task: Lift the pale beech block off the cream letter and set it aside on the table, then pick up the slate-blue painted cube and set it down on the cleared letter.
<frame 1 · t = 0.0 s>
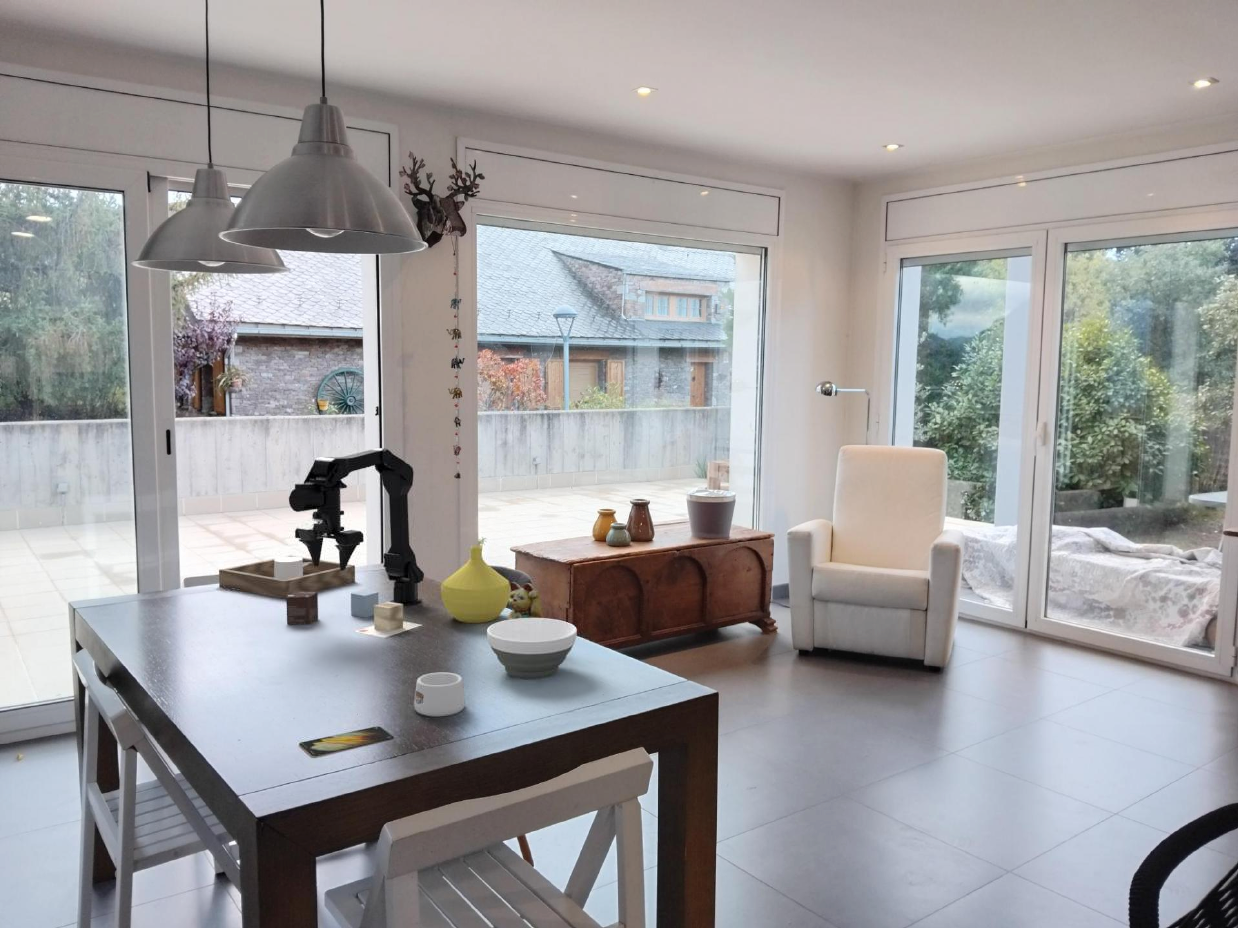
hand: (329, 568, 242), 15 cm above the table, fingers open, 9 cm apart
mug: (436, 708, 186), on the table
bowl: (531, 672, 208), on the table
vase: (475, 619, 252), on the table
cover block: (388, 628, 241), resting on letter
cube: (364, 614, 254), on the table
box: (302, 622, 246), on the table
smartphone: (347, 744, 168), on the table
wooden tray: (288, 583, 288), on the table
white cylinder: (288, 585, 288), resting in wooden tray
decorative figurine: (526, 643, 231), on the table
letter: (388, 628, 241), on the table
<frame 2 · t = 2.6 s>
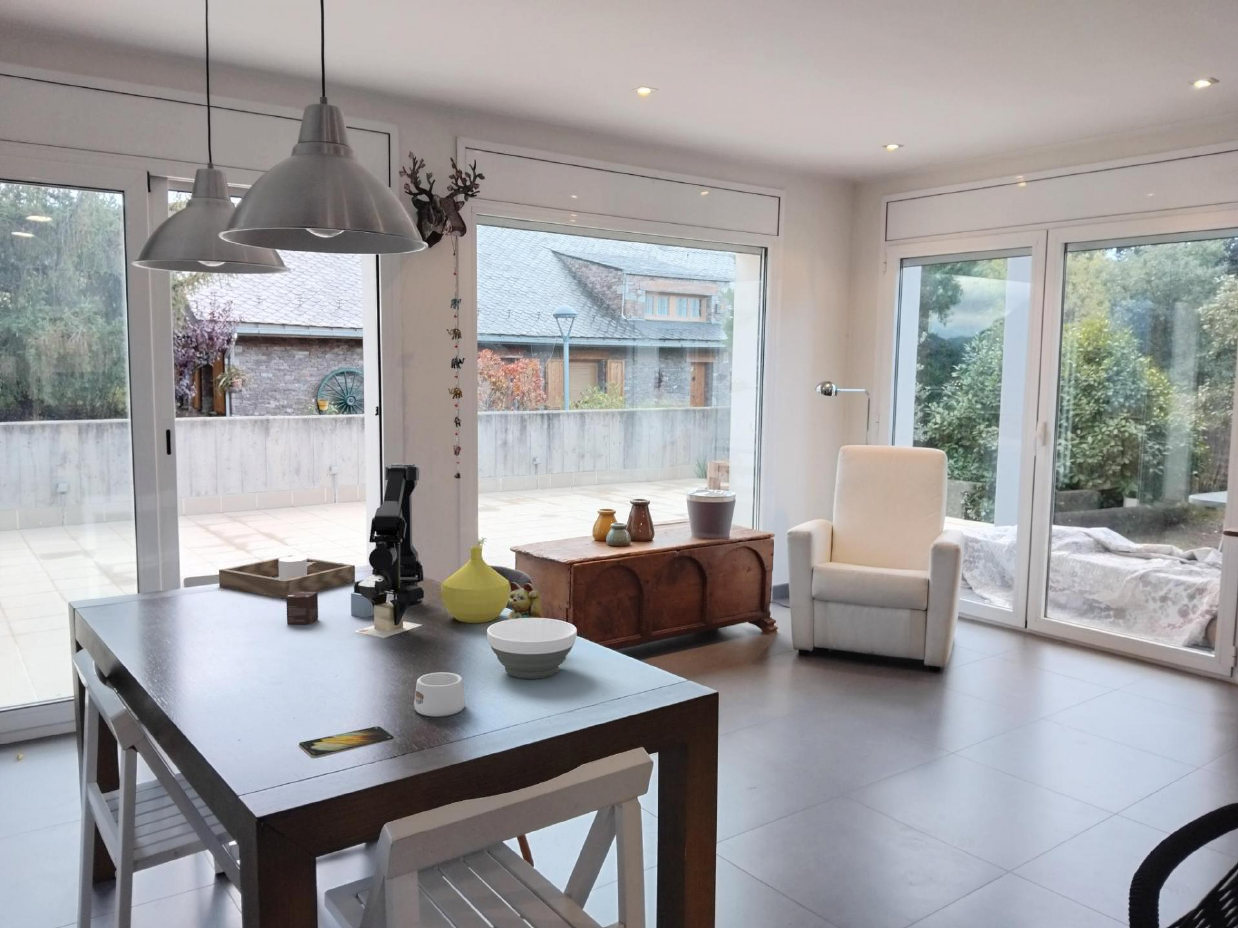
hand: (388, 623, 241), 1 cm above the table, fingers closed on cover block, 5 cm apart
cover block: (388, 628, 241), resting on letter, touching gripper
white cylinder: (293, 585, 289), resting in wooden tray
everything else where it was.
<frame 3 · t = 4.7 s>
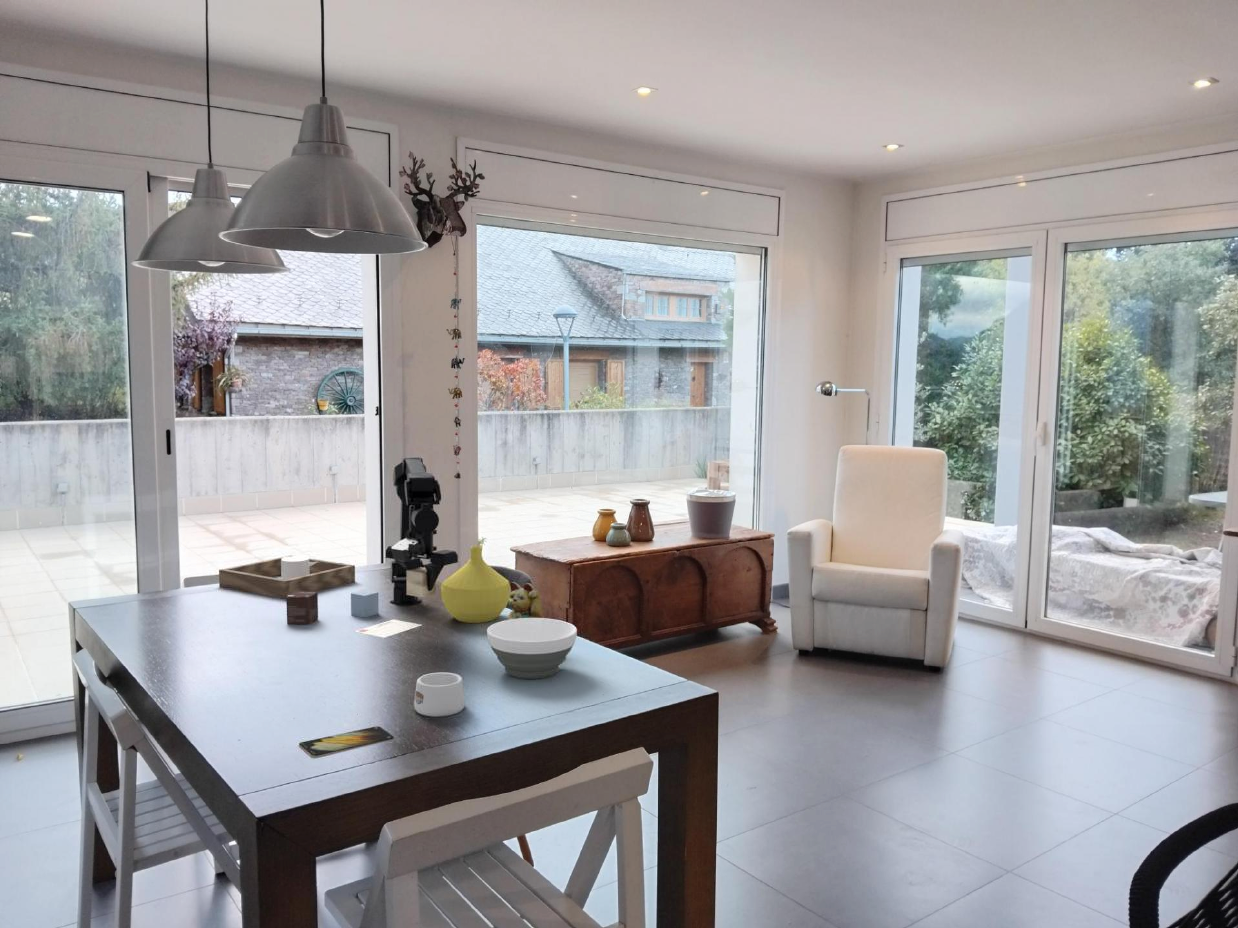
hand: (421, 589, 234), 12 cm above the table, fingers closed on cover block, 5 cm apart
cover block: (421, 593, 234), point 10 cm above the table, touching gripper
when the fingers open (3 cm above the table, at t = 6.7 s): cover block drops 2 cm, on the table.
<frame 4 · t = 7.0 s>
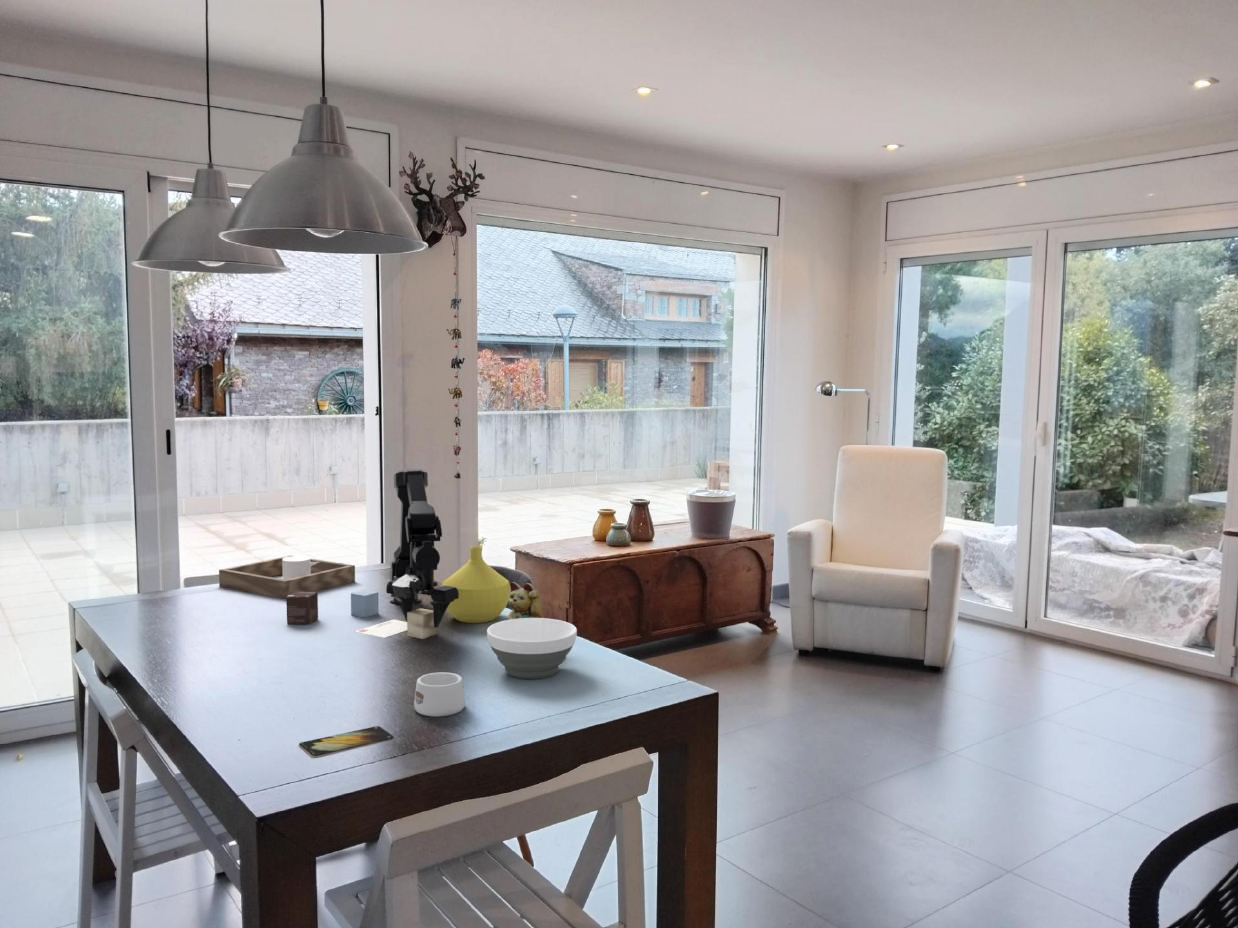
hand: (422, 624, 235), 3 cm above the table, fingers open, 9 cm apart
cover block: (421, 635, 235), on the table
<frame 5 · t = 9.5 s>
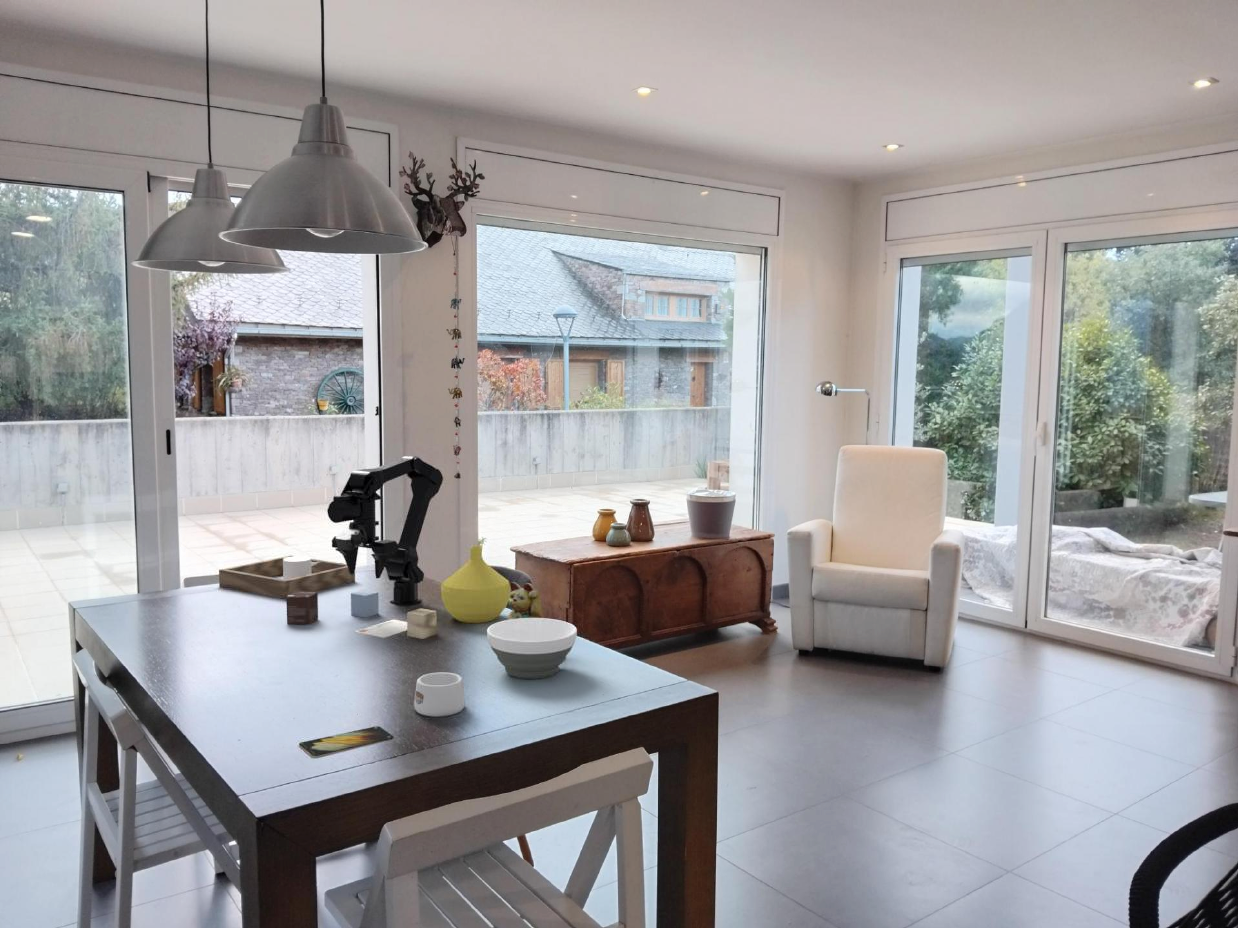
hand: (364, 576, 253), 10 cm above the table, fingers open, 9 cm apart
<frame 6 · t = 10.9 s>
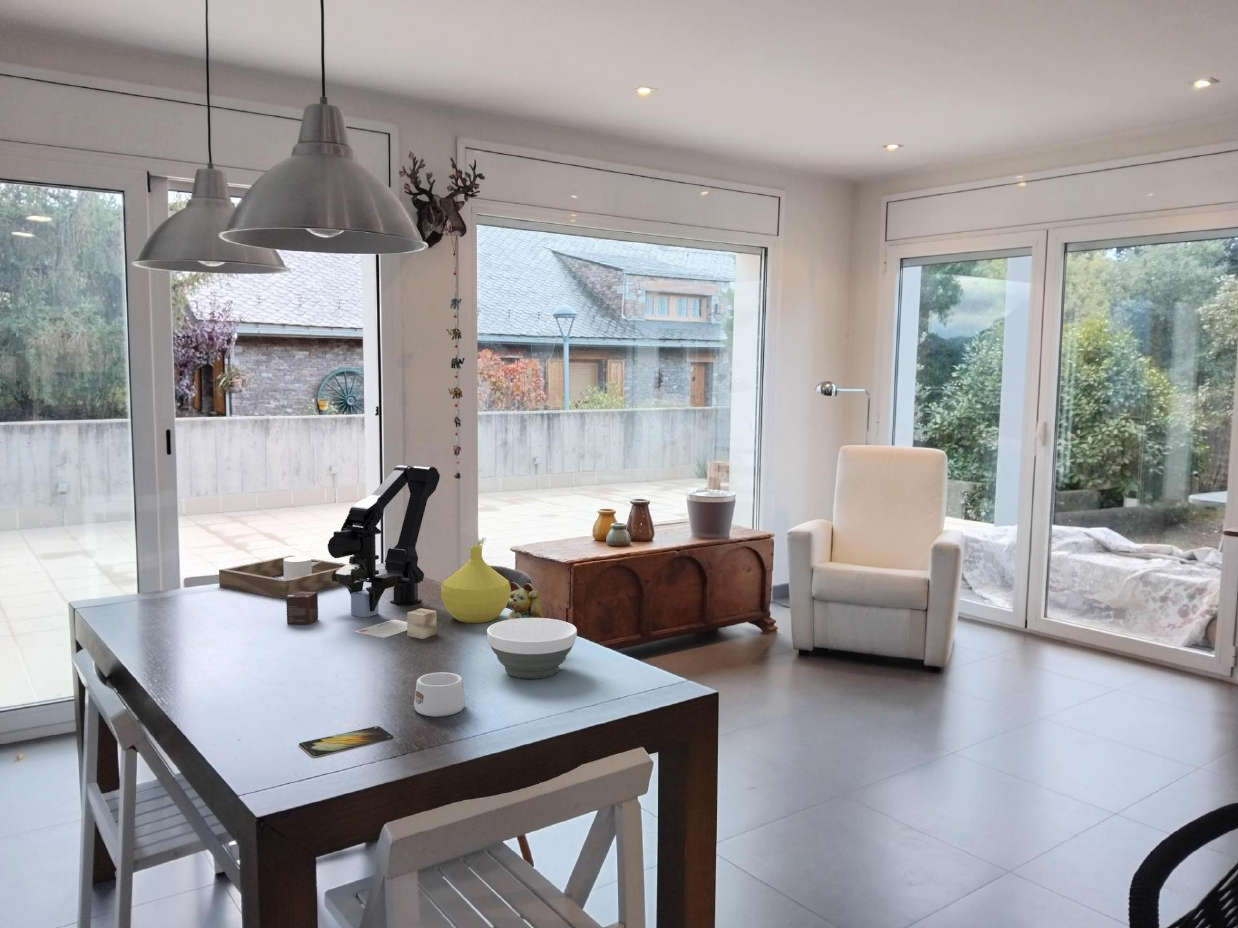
hand: (364, 609, 254), 1 cm above the table, fingers closed on cube, 5 cm apart
cube: (364, 614, 254), on the table, touching gripper
when the fingers open (3 cm above the table, at t = 15.1 s): cube drops 1 cm, resting on letter.
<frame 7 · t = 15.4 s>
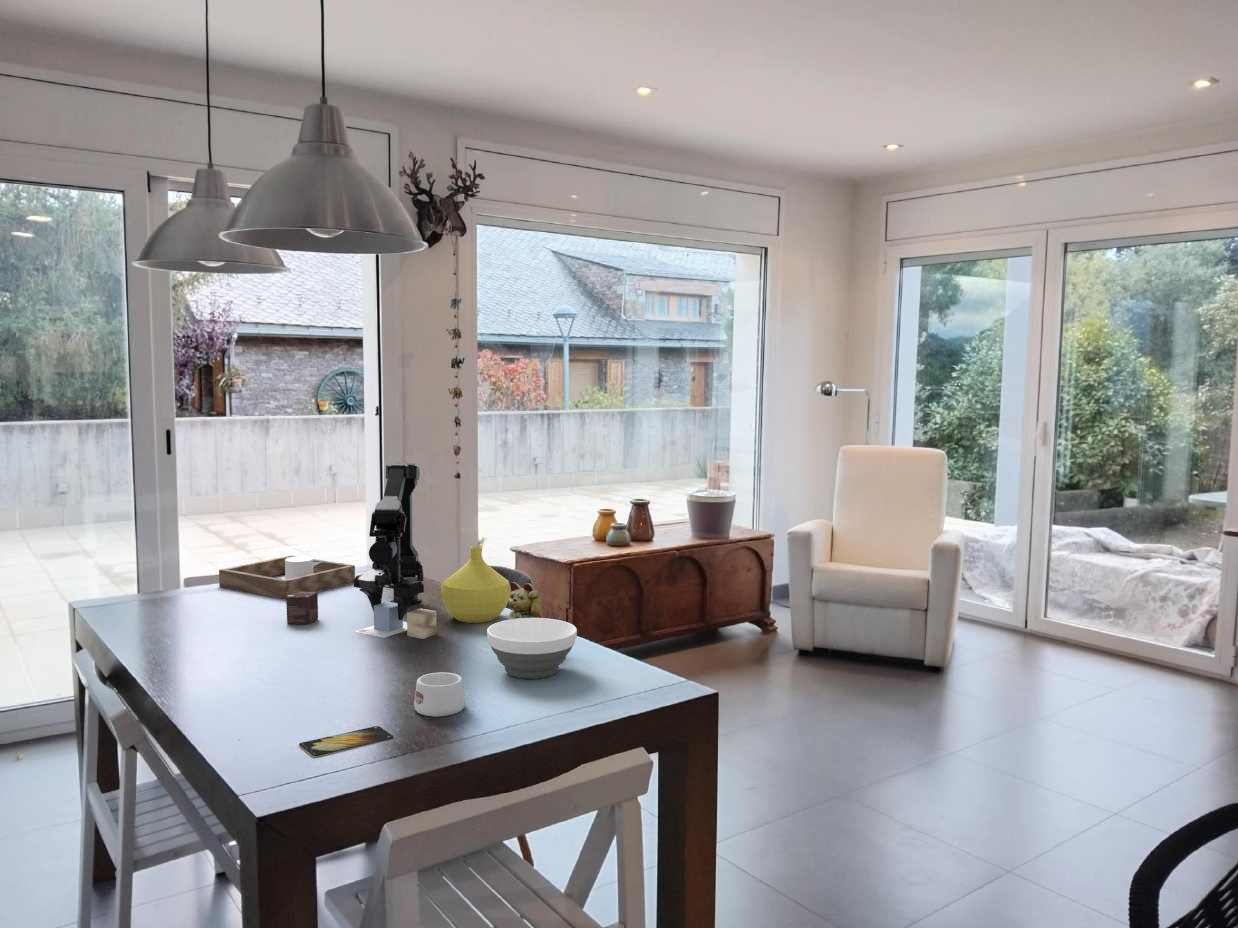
hand: (388, 617, 240), 3 cm above the table, fingers open, 8 cm apart
cube: (388, 628, 241), resting on letter
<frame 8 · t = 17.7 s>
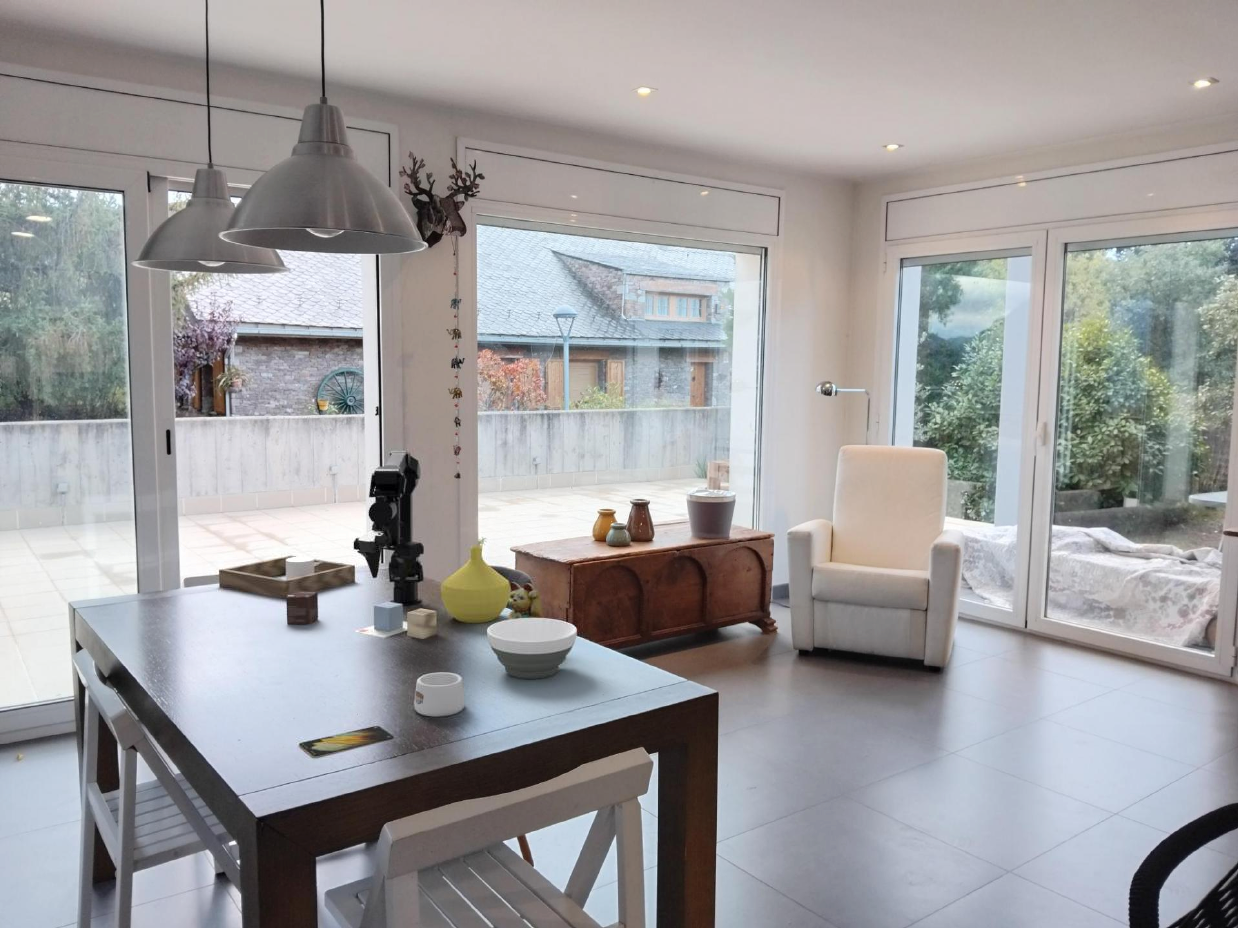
hand: (388, 579, 240), 12 cm above the table, fingers open, 9 cm apart
at the end: cube inside the target area on the letter (0.1 cm from its centre), point 0.1 cm above the letter's base; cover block touching table; cube tilted 0° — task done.
